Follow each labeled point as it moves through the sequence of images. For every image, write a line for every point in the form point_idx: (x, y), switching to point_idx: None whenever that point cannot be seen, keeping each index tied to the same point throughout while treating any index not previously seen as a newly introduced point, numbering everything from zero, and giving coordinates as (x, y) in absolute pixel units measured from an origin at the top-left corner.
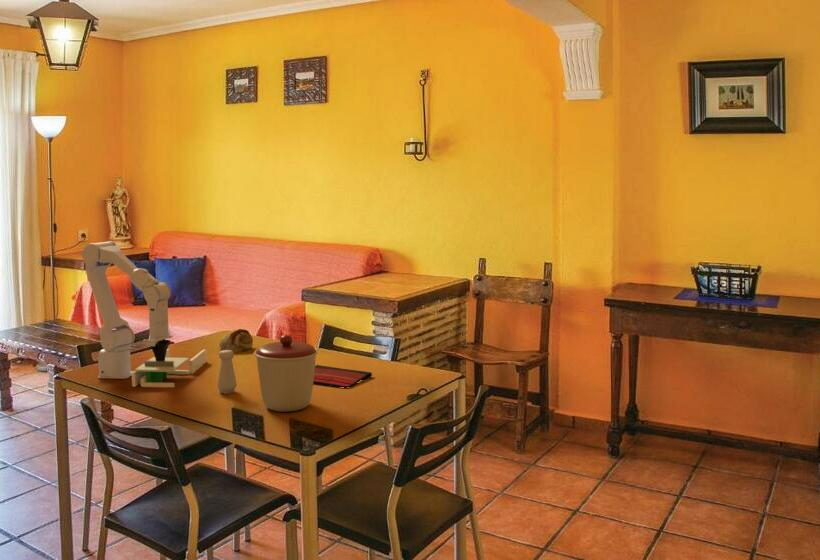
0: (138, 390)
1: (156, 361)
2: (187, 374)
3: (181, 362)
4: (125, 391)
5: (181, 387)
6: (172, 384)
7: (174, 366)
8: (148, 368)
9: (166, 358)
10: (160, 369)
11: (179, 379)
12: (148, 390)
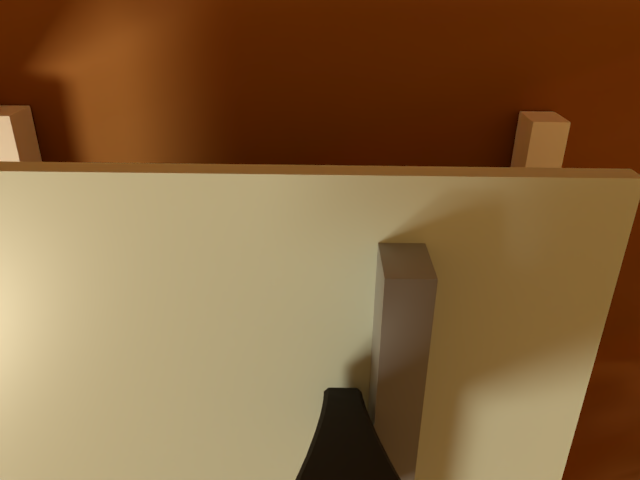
0: (608, 375)
1: (410, 476)
2: (31, 120)
3: (180, 191)
4: (620, 447)
5: (562, 19)
6: (565, 128)
7: (423, 220)
8: (513, 471)
9: (17, 430)
10: (578, 344)
11: (237, 145)
12: (623, 304)
